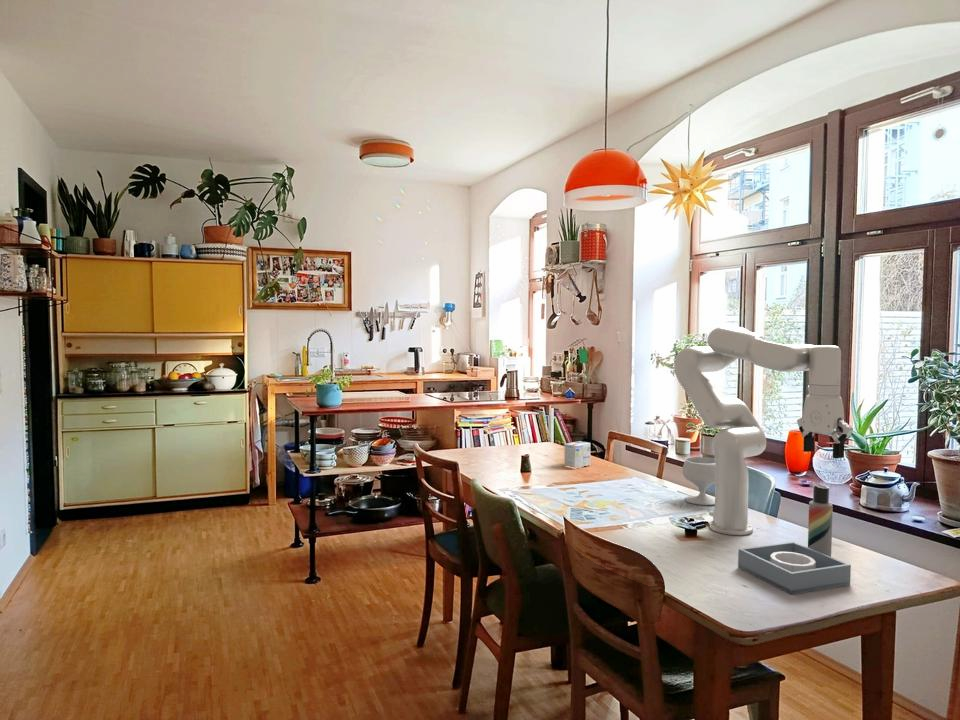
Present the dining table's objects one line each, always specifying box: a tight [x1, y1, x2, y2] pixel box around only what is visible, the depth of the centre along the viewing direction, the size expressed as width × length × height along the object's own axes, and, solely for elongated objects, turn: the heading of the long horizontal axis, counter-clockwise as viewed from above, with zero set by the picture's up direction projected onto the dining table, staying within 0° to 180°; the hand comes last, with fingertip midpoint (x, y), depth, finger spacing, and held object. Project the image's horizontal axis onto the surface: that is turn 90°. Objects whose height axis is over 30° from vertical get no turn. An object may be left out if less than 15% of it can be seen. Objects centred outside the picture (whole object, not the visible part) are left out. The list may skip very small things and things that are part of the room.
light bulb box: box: [563, 440, 591, 468], centre depth 290 cm, size 11×7×11 cm, turn 130°
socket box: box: [737, 541, 852, 596], centre depth 163 cm, size 18×18×5 cm
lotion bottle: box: [807, 483, 834, 557], centre depth 176 cm, size 6×6×20 cm
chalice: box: [681, 456, 716, 506], centre depth 233 cm, size 14×14×15 cm
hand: (823, 454), depth 175 cm, fingers open, 9 cm apart
